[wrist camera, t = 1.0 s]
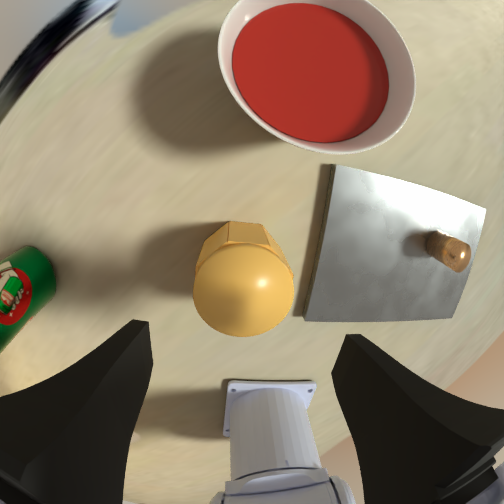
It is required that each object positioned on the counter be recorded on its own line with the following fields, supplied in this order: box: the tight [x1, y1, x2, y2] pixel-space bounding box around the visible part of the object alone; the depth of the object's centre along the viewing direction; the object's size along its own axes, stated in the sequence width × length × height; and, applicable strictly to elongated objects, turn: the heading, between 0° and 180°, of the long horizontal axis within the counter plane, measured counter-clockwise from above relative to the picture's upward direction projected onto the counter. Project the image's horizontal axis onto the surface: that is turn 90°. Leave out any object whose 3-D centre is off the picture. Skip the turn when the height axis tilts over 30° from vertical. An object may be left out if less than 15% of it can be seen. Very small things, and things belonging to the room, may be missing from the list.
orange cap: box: [193, 221, 294, 337], centre depth 16 cm, size 5×5×5 cm
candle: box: [218, 0, 416, 154], centre depth 11 cm, size 9×9×6 cm
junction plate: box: [302, 164, 486, 322], centre depth 17 cm, size 11×16×4 cm
